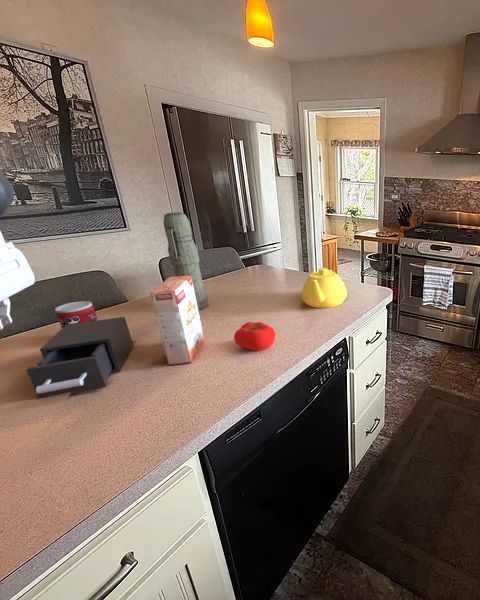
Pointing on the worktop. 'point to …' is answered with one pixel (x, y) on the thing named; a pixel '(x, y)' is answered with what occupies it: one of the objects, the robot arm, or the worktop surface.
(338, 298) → the teapot
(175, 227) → the thermos
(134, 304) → the worktop surface
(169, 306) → the cracker box
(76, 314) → the canned food
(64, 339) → the small drawer unit
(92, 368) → the drawer
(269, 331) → the tomato
